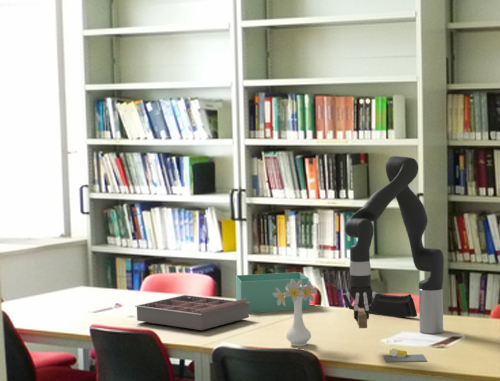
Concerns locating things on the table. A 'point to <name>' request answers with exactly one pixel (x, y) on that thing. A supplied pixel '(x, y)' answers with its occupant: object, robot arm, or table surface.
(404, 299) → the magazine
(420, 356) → the felt mat
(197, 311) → the organizer tray
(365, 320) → the walnut slat
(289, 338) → the flower vase
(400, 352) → the watch
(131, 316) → the table surface
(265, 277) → the box
